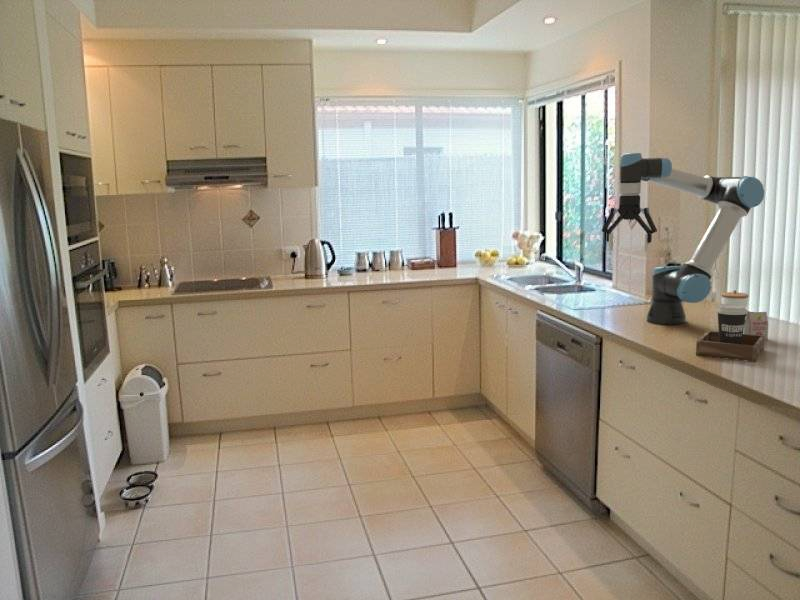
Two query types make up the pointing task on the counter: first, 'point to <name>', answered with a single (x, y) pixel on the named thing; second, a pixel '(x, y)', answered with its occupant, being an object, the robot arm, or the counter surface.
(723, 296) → the lidded jar
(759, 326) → the small food carton
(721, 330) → the coffee cup
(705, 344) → the walnut crate
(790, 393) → the counter surface
